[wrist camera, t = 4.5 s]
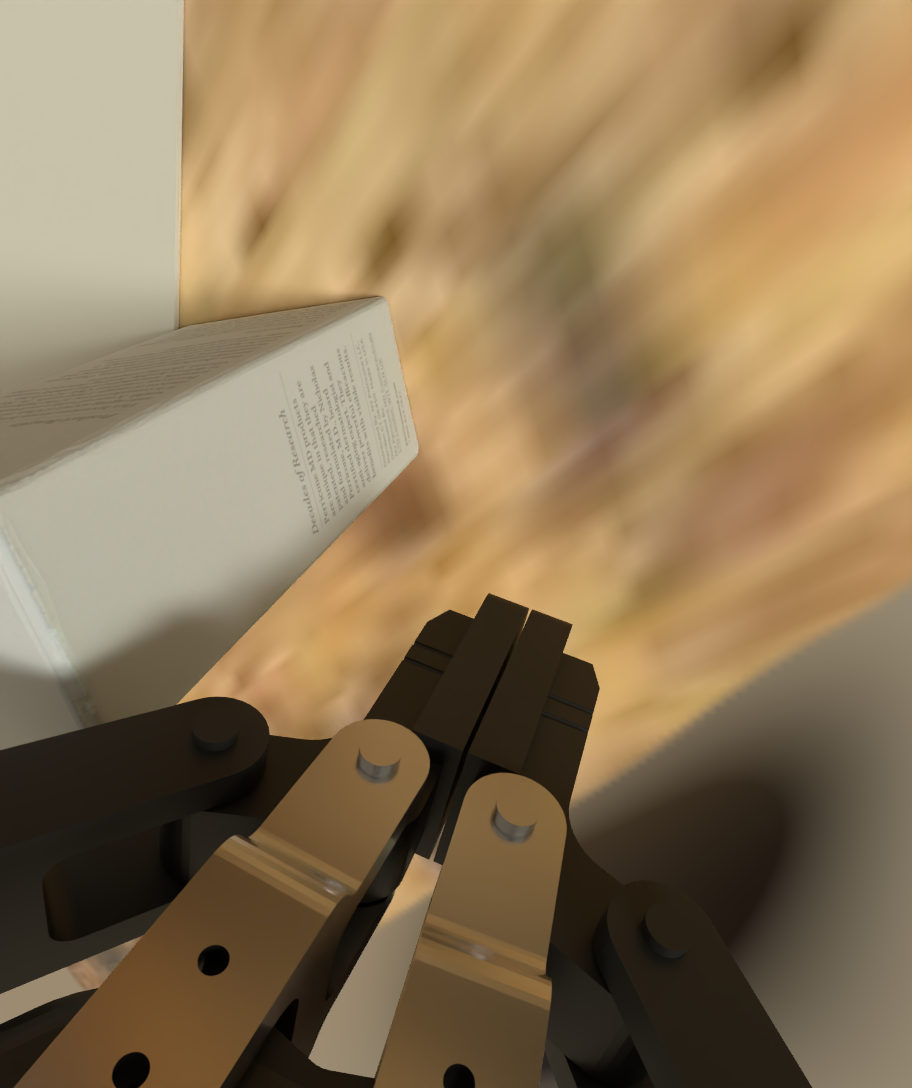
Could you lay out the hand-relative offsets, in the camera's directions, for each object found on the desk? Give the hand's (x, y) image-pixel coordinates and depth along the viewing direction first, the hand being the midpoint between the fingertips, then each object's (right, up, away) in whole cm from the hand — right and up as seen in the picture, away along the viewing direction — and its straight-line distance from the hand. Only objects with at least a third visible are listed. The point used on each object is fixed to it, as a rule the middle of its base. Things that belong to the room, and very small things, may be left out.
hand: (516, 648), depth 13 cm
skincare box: (-5, +6, +7) cm, 11 cm away
